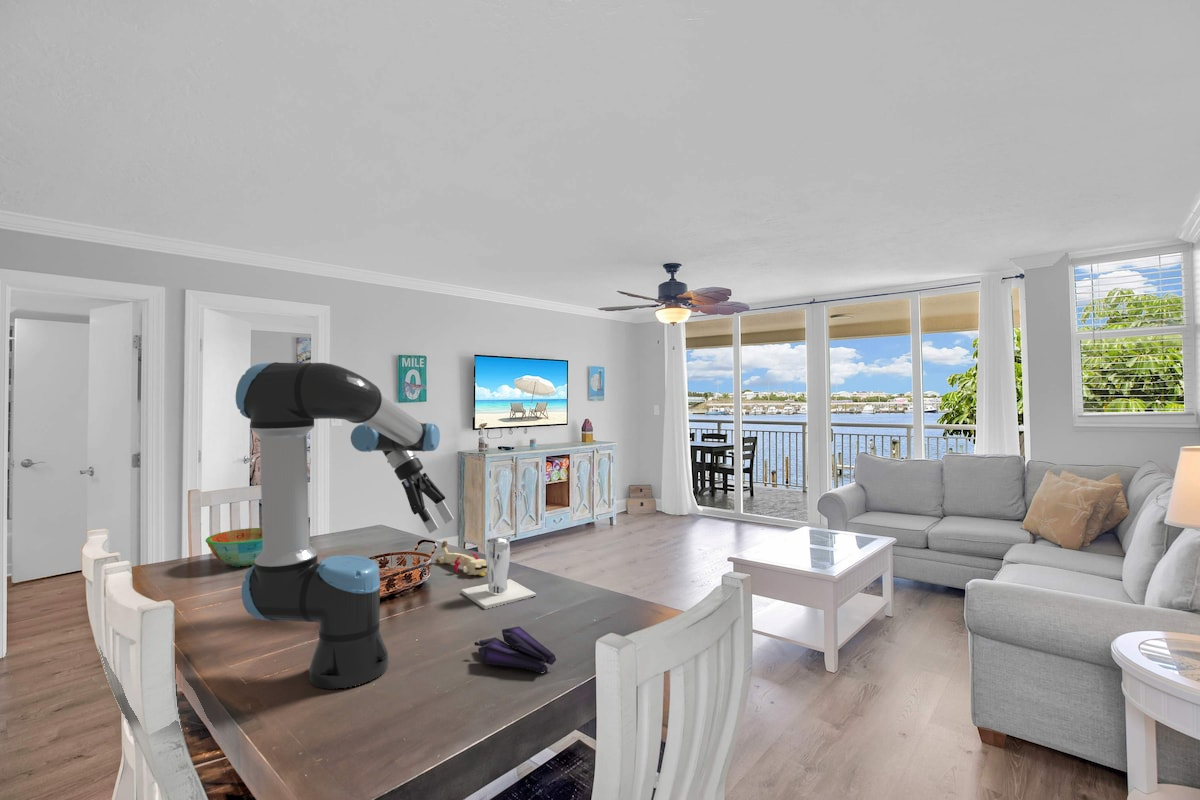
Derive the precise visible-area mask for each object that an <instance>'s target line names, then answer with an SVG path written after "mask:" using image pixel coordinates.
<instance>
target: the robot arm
mask: <svg viewBox="0 0 1200 800" xmlns="http://www.w3.org/2000/svg"><path fill="white" fill-rule="evenodd" d="M235 389H236V390H235V405H236V407H237V409H238V410H239V413H240V414H241V415H242V416H243V417H245V418H247V419H249V420H250V430H251V431H252V432H253V433H255V434H257V436H258V437H259V450H260V451H259V452H260V454H259V456H260V457H259V459H260V492H261V494H260V495H261V523H262V524H261V528H262V535H263V551H262V553H261V554H260V555H259V556H258V557H257V558H256V559H255V564H254V565H251V567H250V568H249V569H248V570H247V571H246V573H245V575H244V579H245V580H244V581H242V584H241V591H240V594H241V600H242V605H243V607H244V609H245V610H246V612H247V613H248V614H249V615H250V616H252V617H253V618H255V619H257V620H263V621H265V620H266V621H269V622H273V623H274V622H301V623H302V622H303V623H305V622H307V623H310V622H311V623H318V642H317V645H316V647H315V651H314V654H313V656H312V659H311V661H310V665H309V673H308V676H309V682H310V683H311V685H313V686H314V687H317V688H320V689H324V688H327V689H326V690H339V689H338V688H344V689H348V688H347V687H350V688H352V687H351V686H355V685H359V684H362V685H364V684H363V683H365V684H367V683H366V682H368V681H370V680H372V681H374V680H376V679H378V678H380V677H381V676H382V675H384V673H385V672H386V671H387V670H388V668H389V653H388V650H387V646H386V645H385V642H384V638H383V635H382V633H381V630H380V629H381V627H380V618H381V617H380V613H381V609H380V607H381V605H380V604H381V602H380V601H381V600H380V599H381V598H380V597H381V591H380V590H381V588H380V587H381V583H382V582H381V578H380V567H379V565H378V564H377V563H376V562H375V561H374V560H373V559H370V558H369V557H366V556H361V555H357V554H356V555H354V554H353V555H351V554H345V555H332V556H328V557H326V558H324V559H322V560H321V561H320V562H319V563H318V550H317V549H315V548H314V547H312V546H311V545H310V526H309V525H310V524H309V523H310V519H309V482H308V439H307V438H308V437H307V435H308V433H310V431H311V430H312V429H313V428H315V420H319V419H320V420H322V419H323V420H326V419H327V420H329V419H333V420H345V421H347V422H350V423H353V424H358V425H356V426H355V427H354V428H353V429H352V432H351V434H350V442H351V445H352V447H353V448H354V449H356V450H357V451H358V452H362V453H363V452H364V453H367V452H369V453H371V452H373V451H374V452H376V451H377V452H378V451H379V452H380V451H381V452H382V453H383V454H384V456H385V458H386V460H387V461H386V463H387V464H389V465H390V466H391V468H392V469H394V471H393V472H394V473H395V475H396V477H397V479H398V480H399V481H401V483H400V484H401V485H402V487H403V489H404V492H405V494H406V498H407V500H408V503H409V507H410V509H411V512H412V513H413V514H414V515H416V514H417V515H418V516H419V518H420V519H421V521H422V523H423V524H424V526H425V528H426V530H427V532H428V533H429V534H431V533H433V532H435V531H437V530H439V525H438V524H437V522H436V520H435V519H434V517H433V515H432V514H431V512H430V510H429V509H428V508H427V507H425V500H424V496H423V494H424V495H426V497H428V499H430V500H431V501H432V502H433V503H434V504H435V505H434V506H435V508H436V510H437V512H438V513H439V515H440V517H441V519H442V520H443V521H444V523H445V524H448V523H450V522H451V521H453V520H454V519H455V518H454V516H453V515H452V513H451V511H450V509H449V508H448V506H447V504H446V503H445V501H444V500H445V499H446V496H445V495H444V494H443V493H442V492H441V490H440V489H439V488H438V487H437V486H436V485H435V483H434V482H433V481H432V480H431V479H430V477H429V476H428V475H427V473H426V472H424V473H421V471H422V470H423V469H424V465H423V464H422V462H421V461H420V459H419V458H418V457H416V456H417V453H416V452H423V453H425V452H432V451H435V450H437V448H438V447H439V444H440V440H441V434H440V428H439V427H438V425H437V424H436V423H429V422H426V423H422V422H421V421H419V420H417V419H416V418H414V417H413V416H411V415H410V414H408V413H407V412H406V411H404V410H403V409H401V408H400V407H399V406H397V405H396V404H395V403H393V402H392V401H390V400H388V399H387V398H386V397H384V396H383V395H382V392H381V390H380V388H379V387H378V386H377V385H376V384H375V383H373V382H371V381H370V380H369V379H367V378H365V377H364V376H362V375H360V374H358V373H356V372H354V371H352V370H349V369H348V368H345V367H342V366H339V365H336V364H334V363H333V364H332V363H329V362H328V363H327V362H279V361H277V362H276V361H274V362H267V363H257V364H255V365H252V366H251V367H249V368H248V369H246V371H245V373H244V374H242V375H241V377H240V378H239V381H238V383H237V386H236V388H235ZM380 675H381V676H380ZM377 677H378V678H377ZM375 678H376V679H375ZM373 679H374V680H373ZM370 682H371V681H370ZM368 683H369V682H368ZM359 686H360V685H359ZM355 687H356V686H355ZM335 688H336V689H335Z"/></svg>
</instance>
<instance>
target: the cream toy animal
mask: <svg viewBox="0 0 1200 800" xmlns="http://www.w3.org/2000/svg"><path fill="white" fill-rule="evenodd" d="M447 546H448V540H443V541H442V543H441V549H442V551H443V555H442V556H441V555H439V554H438V555H436V559H435V560H434V561H435V563H436V564H448V565H449V564H451V565H452V564H453V566H452V569H453V570H454V573H455V572H456V573H461V571H460V570H459V566H462V571H463V573H466V575H467V576H468V575H469V576H477V575H478V576H480V577H484V576H486V573H487V574H488V571H487V565H486V559H485V558H484V559H483V558H480V557H479V556H478V555H476V553H474V552H470V554H472V555H473V556H471V555H470V556H469V555H468V554H464V553H459V552H454V553H453V552H449V550H448V548H447Z"/></svg>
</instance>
